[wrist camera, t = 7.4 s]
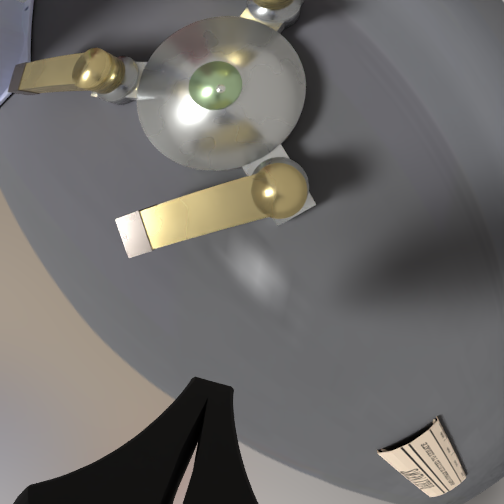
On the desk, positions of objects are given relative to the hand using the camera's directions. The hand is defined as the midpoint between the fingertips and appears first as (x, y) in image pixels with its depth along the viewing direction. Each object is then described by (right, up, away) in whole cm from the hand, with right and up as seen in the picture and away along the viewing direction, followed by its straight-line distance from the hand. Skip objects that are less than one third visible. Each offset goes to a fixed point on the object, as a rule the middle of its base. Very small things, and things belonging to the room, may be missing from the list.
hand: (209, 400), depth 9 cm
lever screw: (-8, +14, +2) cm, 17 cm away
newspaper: (+22, -19, +12) cm, 31 cm away
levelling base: (0, +13, +3) cm, 13 cm away
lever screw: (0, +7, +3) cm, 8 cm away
